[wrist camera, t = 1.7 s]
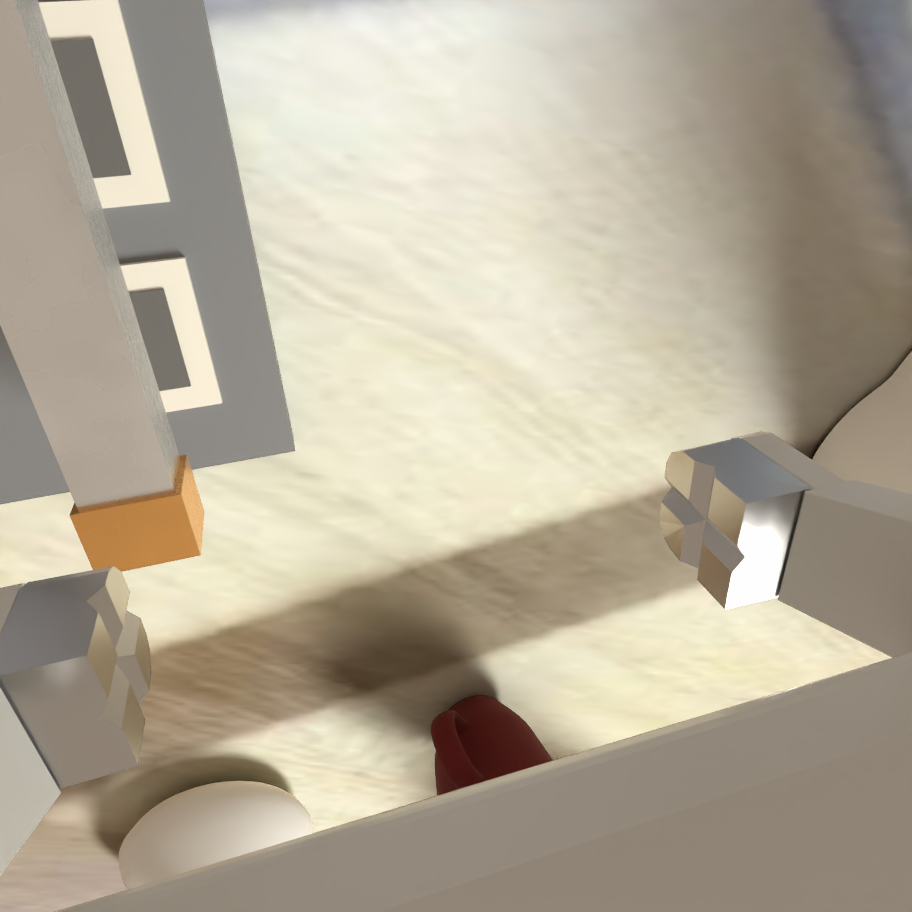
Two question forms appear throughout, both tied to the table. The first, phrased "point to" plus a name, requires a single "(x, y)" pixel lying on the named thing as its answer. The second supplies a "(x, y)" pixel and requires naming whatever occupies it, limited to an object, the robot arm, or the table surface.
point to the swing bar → (81, 322)
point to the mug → (482, 744)
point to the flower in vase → (209, 829)
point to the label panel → (162, 236)
